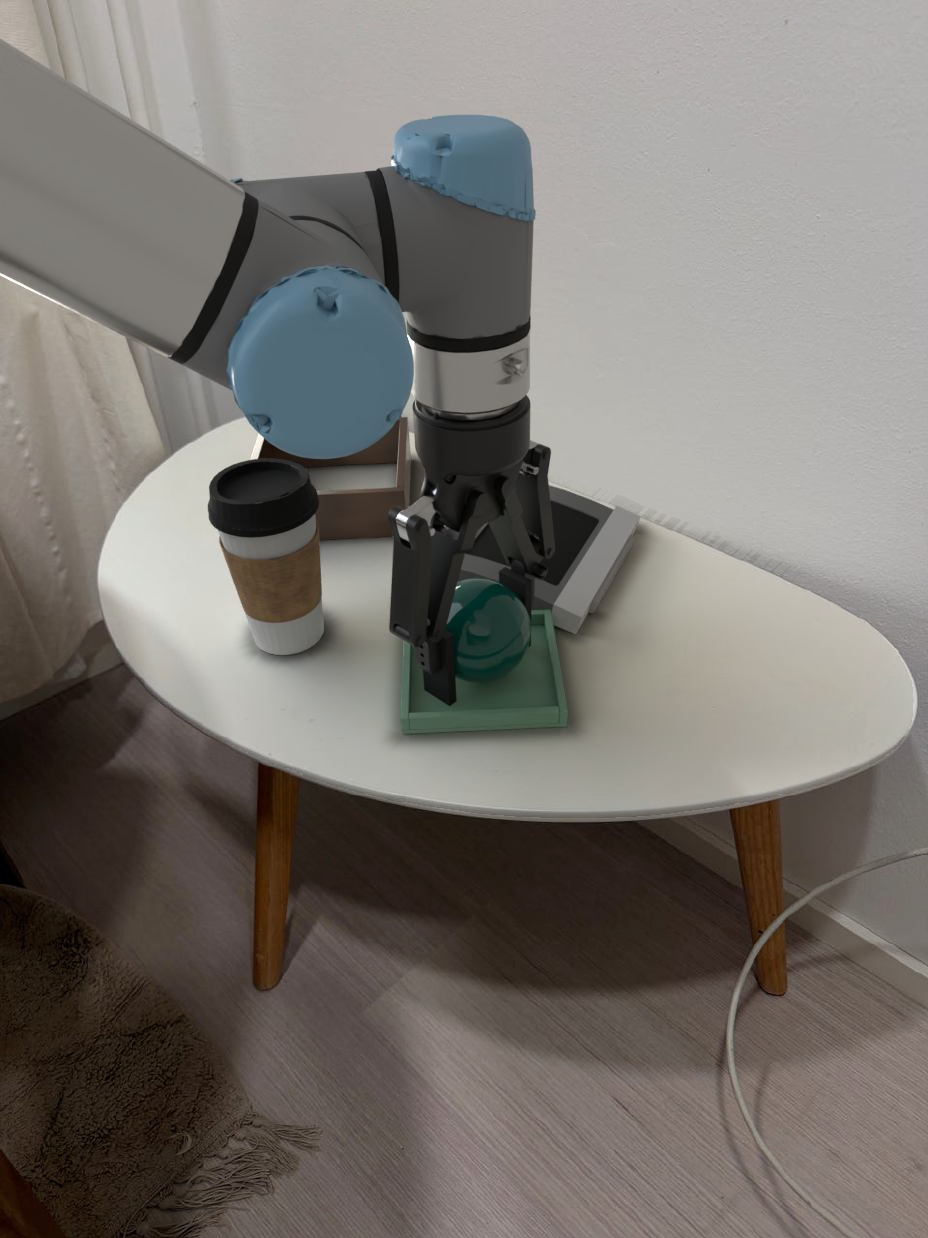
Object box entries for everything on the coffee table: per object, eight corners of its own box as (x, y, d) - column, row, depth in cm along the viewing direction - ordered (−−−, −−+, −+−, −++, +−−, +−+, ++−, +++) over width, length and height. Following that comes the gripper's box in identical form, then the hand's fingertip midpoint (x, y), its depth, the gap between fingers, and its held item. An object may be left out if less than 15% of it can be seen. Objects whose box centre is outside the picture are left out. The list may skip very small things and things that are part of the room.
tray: (402, 734, 68) (400, 718, 67) (405, 630, 77) (404, 615, 76) (567, 726, 68) (567, 711, 67) (550, 623, 77) (550, 609, 76)
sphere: (408, 666, 73) (401, 584, 68) (485, 625, 77) (483, 544, 72) (472, 720, 68) (469, 636, 63) (551, 673, 72) (554, 590, 67)
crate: (247, 543, 89) (237, 498, 86) (269, 465, 101) (261, 423, 98) (408, 535, 89) (404, 490, 86) (411, 458, 101) (407, 416, 98)
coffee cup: (273, 680, 73) (237, 519, 64) (220, 631, 78) (180, 476, 69) (358, 634, 77) (337, 477, 68) (303, 591, 82) (275, 439, 73)
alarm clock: (486, 465, 91) (646, 491, 86) (488, 506, 94) (643, 534, 88) (406, 553, 79) (587, 590, 73) (411, 597, 82) (586, 636, 76)
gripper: (391, 477, 50) (417, 764, 64) (617, 359, 62) (597, 624, 76) (304, 436, 54) (347, 714, 68) (531, 333, 66) (528, 589, 80)
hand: (478, 667), depth 72 cm, fingers closed on sphere, 8 cm apart
